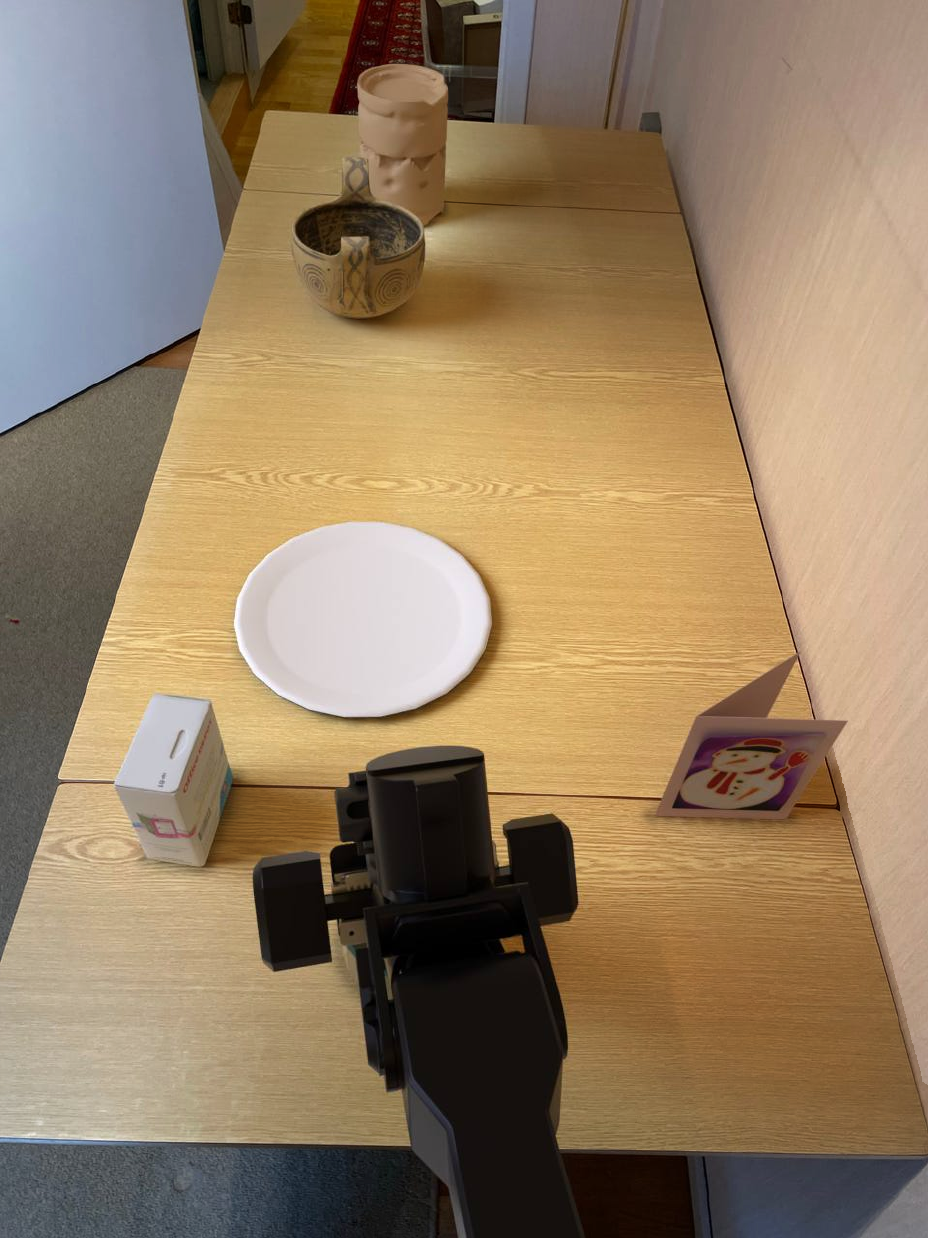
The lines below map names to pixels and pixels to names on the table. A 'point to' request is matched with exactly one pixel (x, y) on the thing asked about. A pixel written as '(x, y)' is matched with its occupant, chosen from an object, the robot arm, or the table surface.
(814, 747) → the greeting card
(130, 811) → the ink box
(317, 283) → the ceramic bowl
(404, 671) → the plate
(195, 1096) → the table surface
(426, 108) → the container
